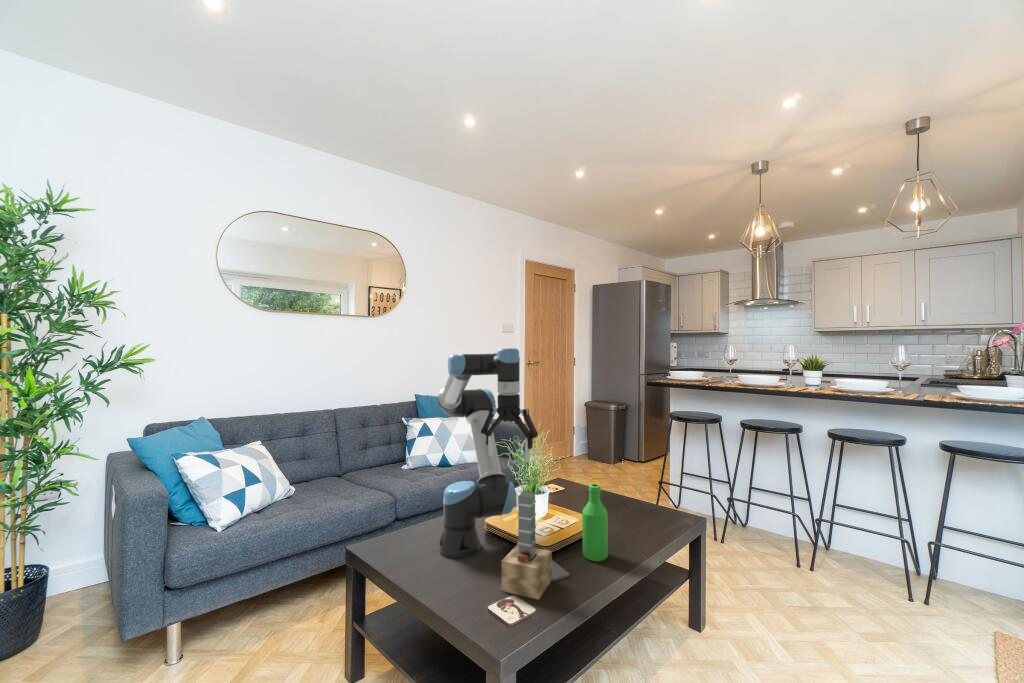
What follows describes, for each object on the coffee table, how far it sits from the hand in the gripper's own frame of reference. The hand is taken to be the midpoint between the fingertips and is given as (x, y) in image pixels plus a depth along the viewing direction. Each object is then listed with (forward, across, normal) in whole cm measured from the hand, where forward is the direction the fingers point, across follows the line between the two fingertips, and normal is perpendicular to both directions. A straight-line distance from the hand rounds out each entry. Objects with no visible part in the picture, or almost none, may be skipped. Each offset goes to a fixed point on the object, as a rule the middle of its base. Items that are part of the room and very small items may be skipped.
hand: (509, 456), depth 149 cm
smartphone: (+37, +13, +3) cm, 40 cm away
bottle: (+37, +25, +17) cm, 48 cm away
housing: (+37, +10, -9) cm, 39 cm away
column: (+31, +10, -9) cm, 34 cm away
